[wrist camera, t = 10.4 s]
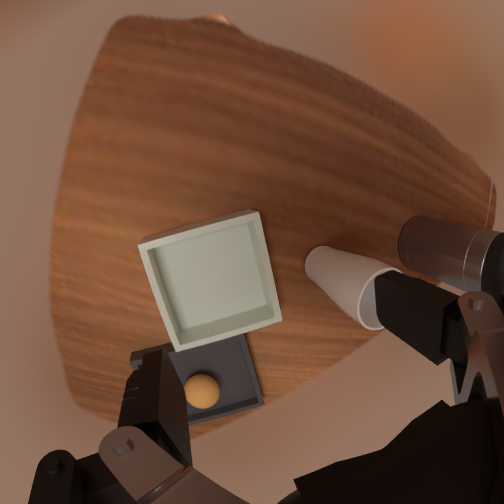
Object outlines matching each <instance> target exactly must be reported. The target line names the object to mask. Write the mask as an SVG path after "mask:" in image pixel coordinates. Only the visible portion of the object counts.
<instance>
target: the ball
mask: <svg viewBox="0 0 504 504" xmlns="http://www.w3.org/2000/svg"><path fill="white" fill-rule="evenodd" d="M184 390H185V394H186V399H187V401H188V402H189V403H190V404H191V405H192V406H194V407H196V408H202V409H204V408H209V407H211V406H213V405H214V404H215V403H216V402H217V400H218V399H219V396H220V389H219V385H218V384H217V382H216V381H215V380H214V379H213V378H212V377H210V376H208V375H204V374H198V375H195V376H192V377H191V378H190V379H189V380H188V381H187V382H186V384H185V386H184Z"/></svg>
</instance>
